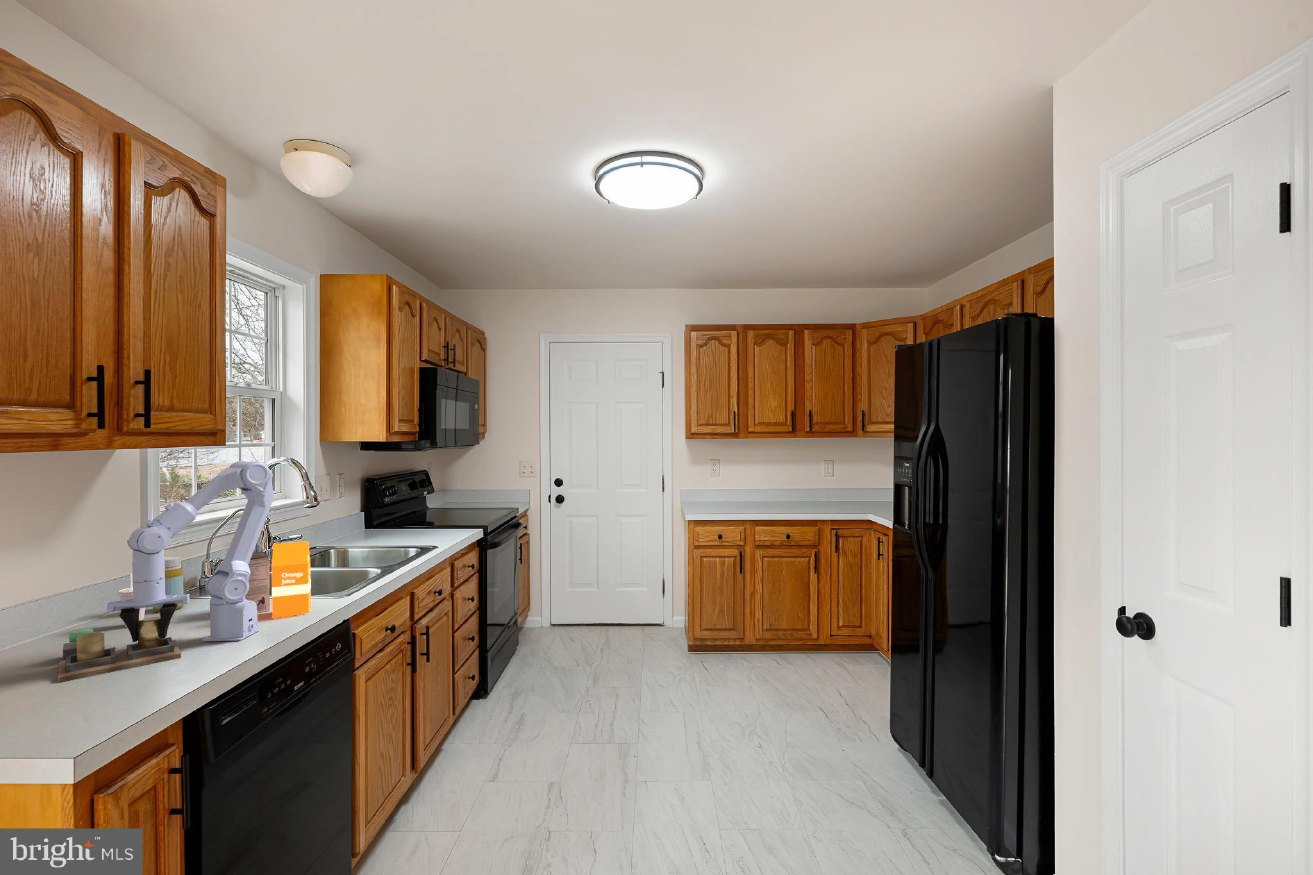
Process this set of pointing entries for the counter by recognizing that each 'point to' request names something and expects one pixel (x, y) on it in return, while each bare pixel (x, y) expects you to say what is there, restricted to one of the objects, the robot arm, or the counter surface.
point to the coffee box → (259, 581)
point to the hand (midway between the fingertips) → (150, 638)
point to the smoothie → (130, 597)
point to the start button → (78, 634)
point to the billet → (149, 633)
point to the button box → (69, 649)
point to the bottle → (173, 578)
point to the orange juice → (291, 579)
